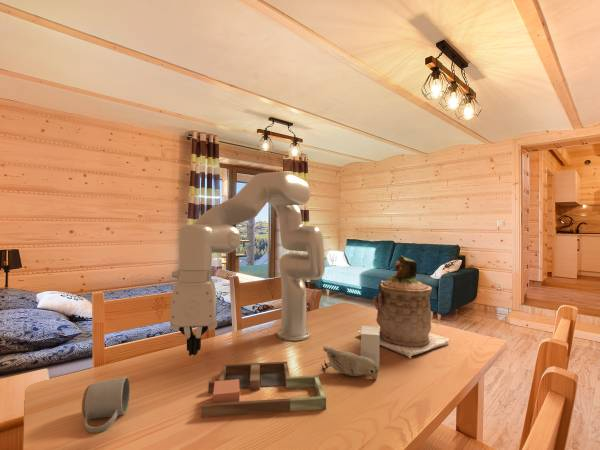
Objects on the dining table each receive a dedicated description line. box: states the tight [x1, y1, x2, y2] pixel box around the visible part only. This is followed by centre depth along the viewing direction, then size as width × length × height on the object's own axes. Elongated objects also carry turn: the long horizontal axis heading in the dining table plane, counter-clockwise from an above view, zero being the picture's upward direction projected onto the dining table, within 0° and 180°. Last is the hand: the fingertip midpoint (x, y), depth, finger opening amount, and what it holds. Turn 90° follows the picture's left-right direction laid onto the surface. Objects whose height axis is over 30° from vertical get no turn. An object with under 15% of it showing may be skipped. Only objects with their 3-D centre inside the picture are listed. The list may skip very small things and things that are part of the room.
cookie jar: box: [357, 255, 450, 359], centre depth 117 cm, size 25×25×32 cm
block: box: [212, 379, 240, 403], centre depth 76 cm, size 6×6×4 cm
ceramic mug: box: [81, 376, 131, 434], centre depth 69 cm, size 11×8×8 cm
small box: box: [360, 325, 381, 371], centre depth 97 cm, size 8×6×10 cm
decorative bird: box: [321, 345, 379, 381], centre depth 90 cm, size 5×16×8 cm, turn 71°
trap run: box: [200, 361, 327, 418], centre depth 82 cm, size 20×28×2 cm
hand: (193, 353), depth 75 cm, fingers closed
